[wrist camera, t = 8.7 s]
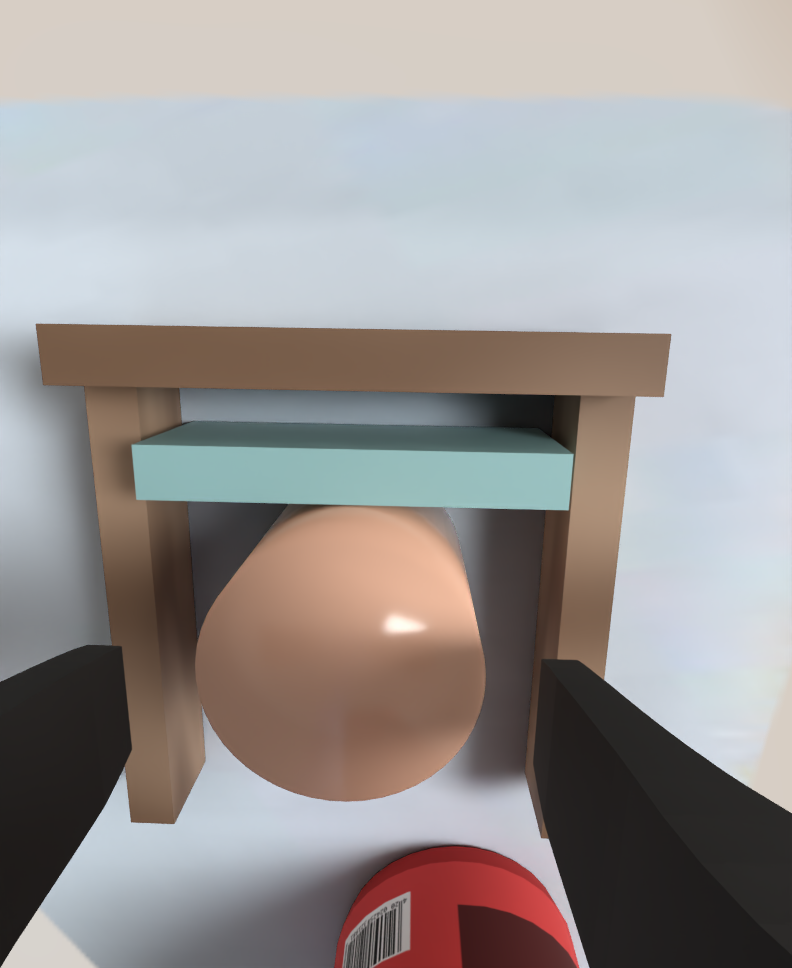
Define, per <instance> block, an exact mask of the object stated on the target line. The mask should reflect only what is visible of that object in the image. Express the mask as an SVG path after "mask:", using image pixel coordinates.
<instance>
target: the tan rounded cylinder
mask: <svg viewBox="0 0 792 968" xmlns="http://www.w3.org/2000/svg"><path fill="white" fill-rule="evenodd" d="M195 671H196V683H197V688H198V693H199V697H200V700H201V703H202V706H203V709H204V712H205V714H206V716H207V718H208V720H209V722H210V724H211V726H212V728H213V730H214V731H215V732H216V734H217V735H218V737H219V738H220V740H221V741H222V743H223V744H224V745H225V746H226V747H227V748H228V750H229V751H230V752H231V753H232V754H233V755H234V756H235V757H236V758H237V759H238V760H239V761H240V762H242V763H243V764H244V765H245V766H246V767H247V768H249V769H250V770H252V771H253V772H254V773H256V774H257V775H259V776H260V777H262V778H263V779H265V780H267V781H269V782H271V783H273V784H274V785H276V786H278V787H281V788H283V789H286V790H288V791H291V792H293V793H297V794H300V795H304V796H307V797H311V798H317V799H323V800H329V801H364V800H370V799H376V798H382V797H386V796H389V795H392V794H396V793H399V792H402V791H404V790H406V789H409V788H411V787H413V786H416V785H417V784H419V783H421V782H422V781H424V780H426V779H428V778H429V777H431V776H432V775H434V774H435V773H436V772H437V771H439V770H440V769H441V768H443V767H444V766H445V765H446V764H447V763H448V762H449V761H450V760H451V759H452V758H453V757H454V756H455V755H456V754H457V753H458V751H459V750H460V749H461V747H462V746H463V745H464V744H465V742H466V741H467V739H468V737H469V736H470V734H471V732H472V730H473V728H474V727H475V724H476V722H477V719H478V717H479V714H480V711H481V708H482V703H483V699H484V695H485V683H486V671H485V659H484V654H483V649H482V645H481V640H480V635H479V631H478V626H477V621H476V617H475V612H474V607H473V602H472V598H471V593H470V588H469V584H468V579H467V574H466V570H465V565H464V560H463V556H462V551H461V546H460V542H459V537H458V534H457V532H456V529H455V526H454V524H453V522H452V520H451V518H450V516H449V515H448V513H447V512H446V510H445V509H444V508H443V507H410V506H368V505H327V504H288V505H287V506H286V508H285V509H284V510H283V511H282V513H281V514H280V515H279V517H278V518H277V519H276V521H275V522H274V523H273V525H272V526H271V527H270V529H269V530H268V531H267V532H266V534H265V535H264V536H263V538H262V539H261V540H260V542H259V543H258V544H257V546H256V547H255V548H254V550H253V551H252V552H251V553H250V555H249V556H248V557H247V559H246V560H245V561H244V563H243V564H242V565H241V567H240V568H239V569H238V571H237V572H236V573H235V574H234V576H233V577H232V578H231V580H230V581H229V582H228V584H227V585H226V586H225V588H224V589H223V590H222V592H221V593H220V594H219V595H218V597H217V598H216V600H215V601H214V603H213V605H212V606H211V608H210V610H209V611H208V613H207V616H206V618H205V620H204V623H203V625H202V628H201V631H200V635H199V639H198V643H197V648H196V658H195Z"/></svg>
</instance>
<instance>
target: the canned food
mask: <svg viewBox="0 0 792 968" xmlns="http://www.w3.org/2000/svg"><path fill="white" fill-rule="evenodd" d="M334 968H579V965H578V961H577V957H576V954H575V950H574V946H573V942H572V939H571V936H570V932H569V929H568V926H567V923H566V921H565V920H564V918H563V916H562V915H561V913H560V911H559V910H558V908H557V906H556V904H555V903H554V901H553V900H552V898H551V896H550V895H549V893H548V891H547V890H546V888H545V887H544V886H543V884H542V883H541V882H540V881H539V880H538V879H537V878H536V877H535V876H534V875H533V874H532V873H531V872H530V871H528V870H527V869H525V868H524V867H522V866H521V865H520V864H518V863H517V862H515V861H513V860H511V859H509V858H506V857H504V856H502V855H500V854H497V853H494V852H490V851H486V850H482V849H478V848H472V847H458V846H450V847H439V848H431V849H427V850H423V851H420V852H416V853H412V854H409V855H407V856H405V857H403V858H401V859H399V860H397V861H394V862H392V863H391V864H389V865H388V866H386V867H385V868H384V869H382V870H381V871H379V872H378V873H377V874H375V875H374V876H373V877H372V879H371V880H370V881H369V882H368V883H367V884H366V885H365V886H364V887H363V888H362V890H361V891H360V893H359V895H358V896H357V898H356V900H355V901H354V903H353V905H352V907H351V909H350V911H349V914H348V916H347V918H346V920H345V923H344V925H343V928H342V931H341V934H340V937H339V940H338V943H337V951H336V958H335V966H334Z"/></svg>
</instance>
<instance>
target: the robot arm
mask: <svg viewBox="0 0 792 968" xmlns="http://www.w3.org/2000/svg"><path fill="white" fill-rule="evenodd" d="M131 751H132V742H131V732H130V722H129V712H128V703H127V693H126V683H125V673H124V663H123V653H122V646H105V645H86V646H83V647H80V648H77V649H74V650H71V651H68V652H66V653H64V654H61V655H59V656H56V657H54V658H52V659H49V660H47V661H45V662H43V663H40V664H38V665H36V666H34V667H32V668H29V669H27V670H25V671H23V672H21V673H19V674H17V675H14V676H12V677H10V678H8V679H6V680H4V681H1V682H0V967H1V966H2V964H3V962H4V961H5V959H6V957H7V956H8V954H9V953H10V951H11V949H12V948H13V946H14V944H15V943H16V941H17V940H18V938H19V937H20V935H21V934H22V932H23V931H24V929H25V928H26V926H27V925H28V923H29V922H30V920H31V919H32V917H33V916H34V914H35V913H36V911H37V910H38V908H39V907H40V905H41V903H42V902H43V900H44V899H45V897H46V896H47V894H48V893H49V891H50V890H51V888H52V887H53V885H54V884H55V882H56V881H57V879H58V878H59V876H60V875H61V873H62V872H63V870H64V869H65V867H66V866H67V864H68V862H69V861H70V859H71V858H72V856H73V855H74V853H75V852H76V850H77V849H78V847H79V846H80V844H81V843H82V841H83V839H84V838H85V836H86V835H87V833H88V832H89V830H90V829H91V827H92V825H93V824H94V822H95V821H96V819H97V818H98V816H99V814H100V813H101V811H102V810H103V808H104V806H105V805H106V803H107V801H108V799H109V797H110V795H111V793H112V791H113V789H114V787H115V785H116V783H117V781H118V779H119V777H120V775H121V773H122V770H123V768H124V766H125V764H126V762H127V760H128V757H129V755H130V753H131ZM533 767H534V772H535V778H536V784H537V789H538V795H539V800H540V805H541V810H542V815H543V820H544V824H545V828H546V831H547V834H548V838H549V841H550V844H551V847H552V850H553V854H554V857H555V860H556V863H557V867H558V870H559V873H560V876H561V879H562V882H563V886H564V889H565V892H566V895H567V898H568V901H569V905H570V908H571V911H572V914H573V917H574V920H575V924H576V927H577V930H578V933H579V936H580V939H581V942H582V946H583V949H584V952H585V955H586V958H587V961H588V965H589V968H792V813H790V812H789V811H787V810H785V809H784V808H782V807H780V806H779V805H777V804H775V803H774V802H772V801H770V800H769V799H767V798H765V797H764V796H762V795H760V794H759V793H757V792H756V791H754V790H752V789H751V788H749V787H747V786H746V785H744V784H743V783H741V782H740V781H738V780H737V779H735V778H733V777H732V776H730V775H729V774H727V773H726V772H724V771H723V770H721V769H720V768H719V767H717V766H716V765H714V764H713V763H711V762H710V761H709V760H707V759H706V758H704V757H703V756H701V755H700V754H699V753H697V752H696V751H694V750H693V749H691V748H690V747H689V746H687V745H686V744H684V743H683V742H682V741H680V740H679V739H678V738H676V737H675V736H674V735H672V734H671V733H670V732H668V731H667V730H666V729H664V728H663V727H662V726H660V725H659V724H658V723H657V722H655V721H654V720H653V719H651V718H650V717H649V716H648V715H646V714H645V713H644V712H643V711H641V710H640V709H639V708H638V707H636V706H635V705H634V704H633V703H631V702H630V701H629V700H628V699H626V698H625V697H624V696H623V695H622V694H620V693H619V692H618V691H617V690H615V689H614V688H613V687H612V686H611V685H609V684H608V683H607V682H606V681H604V680H603V679H602V678H601V677H600V676H598V675H597V674H596V673H595V672H593V671H592V670H591V669H590V668H588V667H587V666H586V665H584V664H583V663H581V662H580V661H579V660H563V659H541V670H540V683H539V695H538V707H537V719H536V732H535V744H534V756H533Z"/></svg>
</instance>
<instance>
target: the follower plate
mask: <svg viewBox="0 0 792 968" xmlns="http://www.w3.org/2000/svg"><path fill="white" fill-rule="evenodd" d="M573 455H574V454H573V453H571V452H570V451H569V450H567V449H566V448H564V447H563V446H562V445H560V444H559V443H558V442H556V441H555V440H554V439H552V438H551V437H550V436H548V435H547V434H546V433H544V432H543V431H542V430H540V429H539V428H501V427H452V426H403V425H354V424H305V423H257V422H208V421H193V422H190V423H187V424H185V425H182V426H179V427H177V428H174V429H172V430H169V431H166V432H164V433H161V434H158V435H156V436H153V437H150V438H148V439H145V440H143V441H140V442H137V443H135V444H132V456H133V467H134V478H135V489H136V500H161V501H203V502H244V503H286V504H327V505H368V506H410V507H451V508H493V509H534V510H569V500H570V489H571V478H572V467H573Z"/></svg>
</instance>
